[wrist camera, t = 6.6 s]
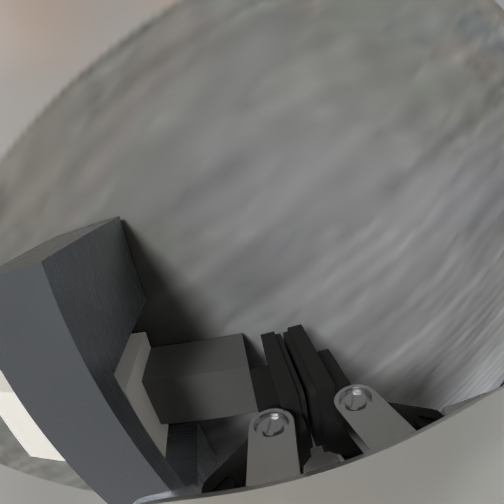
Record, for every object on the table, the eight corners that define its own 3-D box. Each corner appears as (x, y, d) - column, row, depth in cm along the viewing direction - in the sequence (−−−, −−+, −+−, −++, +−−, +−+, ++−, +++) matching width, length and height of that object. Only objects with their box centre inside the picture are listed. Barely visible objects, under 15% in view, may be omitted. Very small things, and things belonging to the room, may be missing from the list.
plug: (238, 316, 13) (250, 375, 9) (253, 389, 14) (266, 451, 10) (10, 345, 12) (-28, 389, 8) (42, 405, 13) (16, 453, 9)
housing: (119, 216, 11) (40, 261, 5) (217, 458, 15) (224, 545, 9) (56, 236, 11) (-38, 288, 5) (168, 464, 15) (164, 548, 9)
